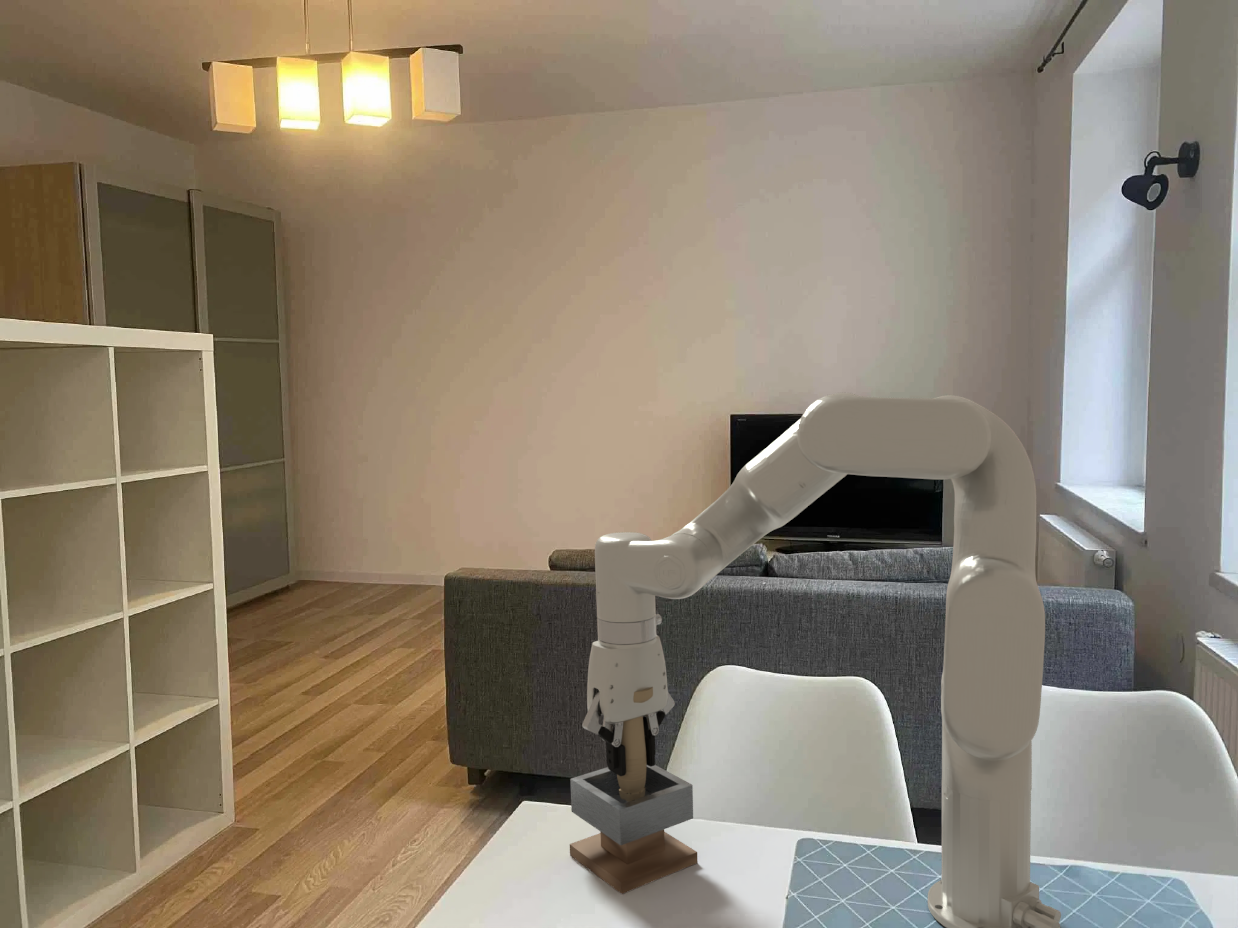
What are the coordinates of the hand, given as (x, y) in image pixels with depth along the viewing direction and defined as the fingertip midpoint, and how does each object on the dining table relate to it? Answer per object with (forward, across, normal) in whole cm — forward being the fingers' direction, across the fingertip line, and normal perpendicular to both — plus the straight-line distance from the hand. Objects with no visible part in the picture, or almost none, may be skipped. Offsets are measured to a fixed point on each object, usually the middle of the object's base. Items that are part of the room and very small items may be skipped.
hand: (631, 766), depth 121 cm
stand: (+13, 0, 0) cm, 13 cm away
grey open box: (+7, 0, 0) cm, 7 cm away
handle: (+4, 0, 0) cm, 4 cm away
